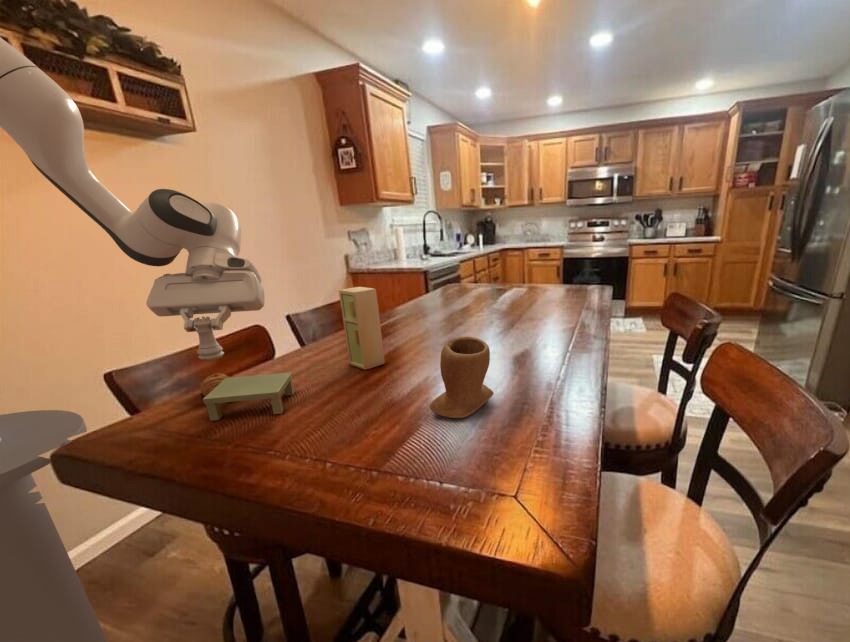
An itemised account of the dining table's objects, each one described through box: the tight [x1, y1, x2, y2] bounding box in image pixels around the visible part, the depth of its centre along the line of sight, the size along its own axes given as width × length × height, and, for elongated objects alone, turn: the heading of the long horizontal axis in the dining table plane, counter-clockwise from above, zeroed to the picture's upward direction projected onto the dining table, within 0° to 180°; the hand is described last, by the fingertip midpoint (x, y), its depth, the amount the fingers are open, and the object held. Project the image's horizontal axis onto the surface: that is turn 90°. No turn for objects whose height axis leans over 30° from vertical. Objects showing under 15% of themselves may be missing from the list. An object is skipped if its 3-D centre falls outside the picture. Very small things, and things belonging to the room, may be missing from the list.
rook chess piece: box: [193, 316, 225, 361], centre depth 79 cm, size 4×4×8 cm
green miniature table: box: [202, 371, 295, 422], centre depth 88 cm, size 14×12×5 cm
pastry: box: [199, 373, 230, 398], centre depth 95 cm, size 9×7×4 cm
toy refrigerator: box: [338, 286, 386, 371], centre depth 109 cm, size 8×7×21 cm
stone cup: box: [428, 336, 495, 419], centre depth 83 cm, size 15×12×15 cm
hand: (203, 329), depth 78 cm, fingers closed on rook chess piece, 3 cm apart
